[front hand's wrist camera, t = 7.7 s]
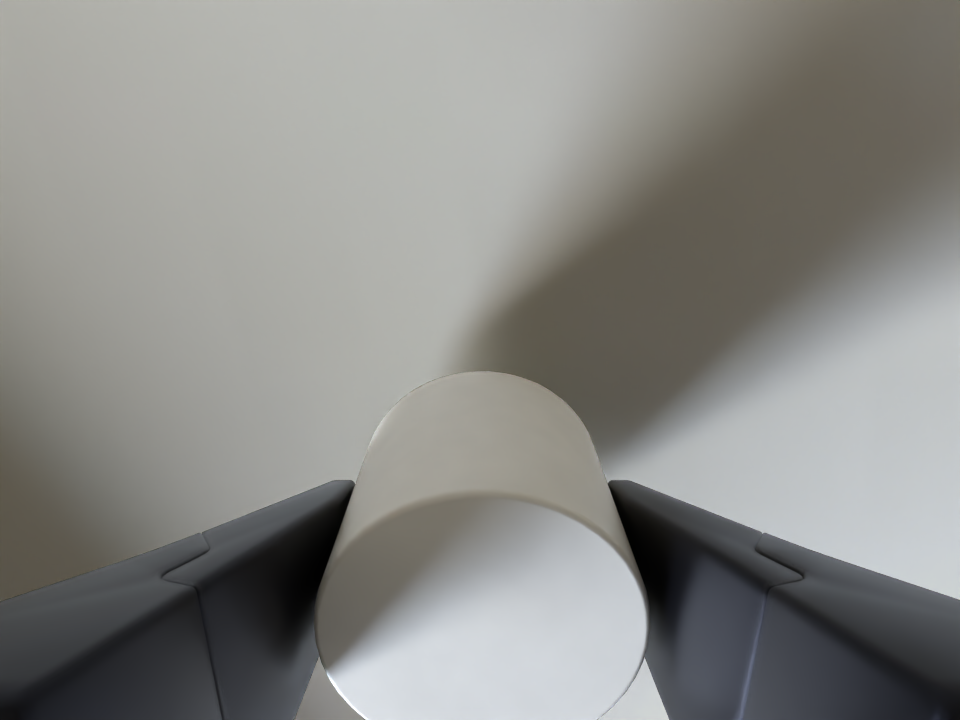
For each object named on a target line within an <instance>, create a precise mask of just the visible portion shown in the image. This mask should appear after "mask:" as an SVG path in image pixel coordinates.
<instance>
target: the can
mask: <svg viewBox="0 0 960 720" xmlns="http://www.w3.org/2000/svg"><path fill="white" fill-rule="evenodd" d="M650 625H651V623H650V606H649V601H648V596H647V592H646V588H645V585H644V582H643V580H642V577H641V574H640V571H639V569H638V566H637V563H636V560H635V558H634V555H633V552H632V549H631V547H630V544H629V541H628V538H627V536H626V533H625V530H624V527H623V525H622V522H621V519H620V516H619V514H618V511H617V508H616V505H615V503H614V500H613V497H612V494H611V492H610V489H609V486H608V483H607V481H606V478H605V475H604V472H603V470H602V467H601V464H600V461H599V459H598V456H597V453H596V450H595V448H594V445H593V442H592V440H591V437H590V435H589V433H588V431H587V429H586V427H585V426H584V424H583V422H582V421H581V419H580V418H579V417H578V415H577V414H576V413H575V412H574V410H573V409H572V408H571V407H570V406H569V405H568V404H567V403H566V402H565V401H563V400H562V399H561V398H560V397H558V396H557V395H556V394H554V393H553V392H552V391H550V390H548V389H547V388H545V387H543V386H541V385H539V384H537V383H535V382H533V381H530V380H528V379H525V378H523V377H519V376H515V375H511V374H507V373H501V372H492V371H471V372H462V373H456V374H452V375H448V376H444V377H440V378H438V379H435V380H433V381H430V382H427V383H425V384H424V385H422V386H420V387H418V388H416V389H414V390H413V391H411V392H410V393H409V394H407V395H406V396H404V397H403V398H402V399H400V400H399V401H398V402H397V403H396V404H395V405H394V406H393V407H392V408H391V409H390V410H389V411H388V413H387V414H386V415H385V416H384V418H383V419H382V420H381V422H380V424H379V425H378V427H377V429H376V430H375V432H374V434H373V437H372V439H371V442H370V444H369V447H368V450H367V453H366V456H365V458H364V461H363V464H362V467H361V470H360V473H359V475H358V478H357V481H356V484H355V487H354V490H353V492H352V495H351V498H350V501H349V504H348V507H347V509H346V512H345V515H344V518H343V521H342V524H341V526H340V529H339V532H338V535H337V538H336V541H335V543H334V546H333V549H332V552H331V555H330V558H329V560H328V563H327V566H326V569H325V572H324V575H323V577H322V580H321V583H320V586H319V589H318V593H317V597H316V602H315V606H314V632H315V641H316V645H317V649H318V652H319V656H320V659H321V662H322V665H323V667H324V669H325V671H326V673H327V675H328V677H329V679H330V681H331V682H332V684H333V685H334V687H335V688H336V690H337V691H338V693H339V694H340V695H341V696H342V697H343V698H344V699H345V701H346V702H347V703H348V704H349V705H350V706H351V707H352V708H353V709H354V710H355V711H357V712H358V713H359V714H360V715H361V716H362V717H363V718H365V719H366V720H598V719H599V718H600V717H602V716H603V715H604V714H605V713H606V712H607V711H608V710H610V709H611V708H612V707H613V706H614V705H615V704H616V703H617V702H618V700H619V699H620V698H621V697H622V696H623V695H624V694H625V692H626V691H627V690H628V688H629V687H630V685H631V684H632V682H633V681H634V679H635V677H636V675H637V673H638V671H639V669H640V667H641V665H642V663H643V660H644V656H645V653H646V649H647V646H648V641H649V633H650Z"/></svg>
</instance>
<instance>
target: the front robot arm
mask: <svg viewBox="0 0 960 720" xmlns="http://www.w3.org/2000/svg"><path fill="white" fill-rule="evenodd" d="M608 486H609V489H610V492H611V494H612V497H613V500H614V503H615V505H616V508H617V511H618V514H619V516H620V519H621V522H622V525H623V527H624V530H625V533H626V536H627V538H628V541H629V544H630V547H631V549H632V552H633V555H634V558H635V560H636V563H637V566H638V569H639V571H640V574H641V577H642V580H643V582H644V585H645V588H646V592H647V596H648V601H649V606H650V623H651V625H650V633H649V641H648V646H647V649H646V653H645V659H646V661H647V664H648V666H649V669H650V672H651V674H652V677H653V679H654V682H655V684H656V687H657V689H658V692H659V694H660V697H661V700H662V702H663V705H664V707H665V710H666V712H667V715H668V717H669V720H960V600H958V599H955V598H952V597H949V596H946V595H943V594H940V593H937V592H934V591H931V590H928V589H925V588H922V587H919V586H916V585H913V584H910V583H907V582H904V581H901V580H898V579H895V578H892V577H889V576H886V575H883V574H880V573H877V572H874V571H871V570H868V569H865V568H862V567H859V566H856V565H853V564H850V563H847V562H844V561H841V560H838V559H835V558H832V557H829V556H827V555H824V554H821V553H818V552H815V551H812V550H809V549H807V548H804V547H801V546H798V545H796V544H793V543H790V542H788V541H785V540H782V539H780V538H777V537H775V536H772V535H770V534H767V533H763V534H762V533H761V532H760V531H757V530H755V529H752V528H750V527H747V526H744V525H742V524H739V523H737V522H734V521H732V520H729V519H727V518H724V517H721V516H719V515H716V514H714V513H711V512H709V511H706V510H703V509H701V508H698V507H696V506H693V505H691V504H688V503H686V502H683V501H680V500H678V499H675V498H673V497H670V496H668V495H665V494H663V493H660V492H657V491H655V490H652V489H650V488H647V487H645V486H642V485H640V484H637V483H634V482H632V481H628V480H611V481H609V482H608ZM354 487H355V483H354V482H353V481H352V480H335V481H331V482H328V483H326V484H323V485H321V486H318V487H316V488H313V489H311V490H308V491H306V492H303V493H300V494H298V495H295V496H293V497H290V498H288V499H285V500H283V501H280V502H278V503H275V504H273V505H270V506H268V507H265V508H262V509H260V510H257V511H255V512H252V513H250V514H247V515H245V516H242V517H240V518H237V519H235V520H232V521H230V522H227V523H224V524H222V525H219V526H217V527H214V528H212V529H209V530H207V531H204V532H202V534H201V533H197V534H194V535H192V536H189V537H187V538H184V539H182V540H179V541H176V542H174V543H171V544H168V545H166V546H163V547H160V548H158V549H155V550H152V551H149V552H146V553H144V554H141V555H138V556H135V557H132V558H129V559H126V560H124V561H121V562H118V563H115V564H112V565H109V566H106V567H103V568H100V569H97V570H94V571H91V572H88V573H85V574H82V575H79V576H76V577H73V578H70V579H67V580H64V581H61V582H58V583H55V584H52V585H49V586H46V587H43V588H40V589H37V590H34V591H31V592H28V593H25V594H22V595H19V596H16V597H13V598H10V599H7V600H4V601H1V602H0V720H294V719H295V716H296V714H297V711H298V709H299V706H300V704H301V701H302V698H303V696H304V693H305V691H306V688H307V686H308V683H309V680H310V678H311V675H312V673H313V670H314V667H315V665H316V662H317V660H318V657H319V652H318V649H317V645H316V641H315V632H314V606H315V602H316V597H317V593H318V589H319V586H320V583H321V580H322V577H323V575H324V572H325V569H326V566H327V563H328V560H329V558H330V555H331V552H332V549H333V546H334V543H335V541H336V538H337V535H338V532H339V529H340V526H341V524H342V521H343V518H344V515H345V512H346V509H347V507H348V504H349V501H350V498H351V495H352V492H353V490H354Z"/></svg>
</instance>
